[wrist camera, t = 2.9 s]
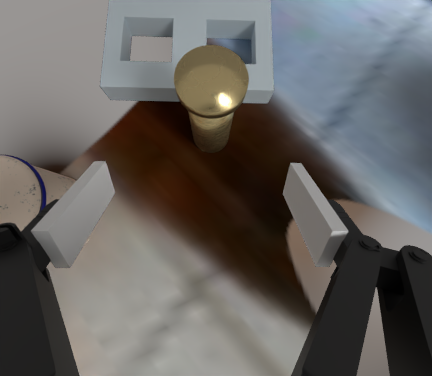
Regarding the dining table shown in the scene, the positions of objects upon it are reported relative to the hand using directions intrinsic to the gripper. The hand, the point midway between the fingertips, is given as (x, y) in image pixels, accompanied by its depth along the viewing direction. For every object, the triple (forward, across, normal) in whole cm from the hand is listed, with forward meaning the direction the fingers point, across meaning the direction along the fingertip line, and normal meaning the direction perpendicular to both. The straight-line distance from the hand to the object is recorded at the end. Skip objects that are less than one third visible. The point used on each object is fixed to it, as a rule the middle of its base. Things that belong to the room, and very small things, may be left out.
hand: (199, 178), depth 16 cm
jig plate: (+23, -2, +6) cm, 24 cm away
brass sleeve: (+15, +1, -3) cm, 15 cm away
